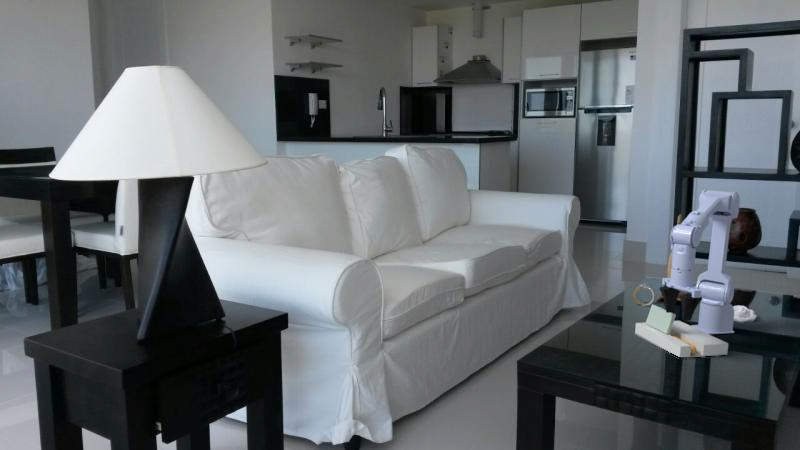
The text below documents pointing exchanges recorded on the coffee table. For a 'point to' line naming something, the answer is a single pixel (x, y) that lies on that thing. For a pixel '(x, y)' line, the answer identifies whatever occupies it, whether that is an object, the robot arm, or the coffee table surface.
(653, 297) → the ring
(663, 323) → the cover
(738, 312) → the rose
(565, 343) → the coffee table surface
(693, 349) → the orange rounded rod
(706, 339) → the board
